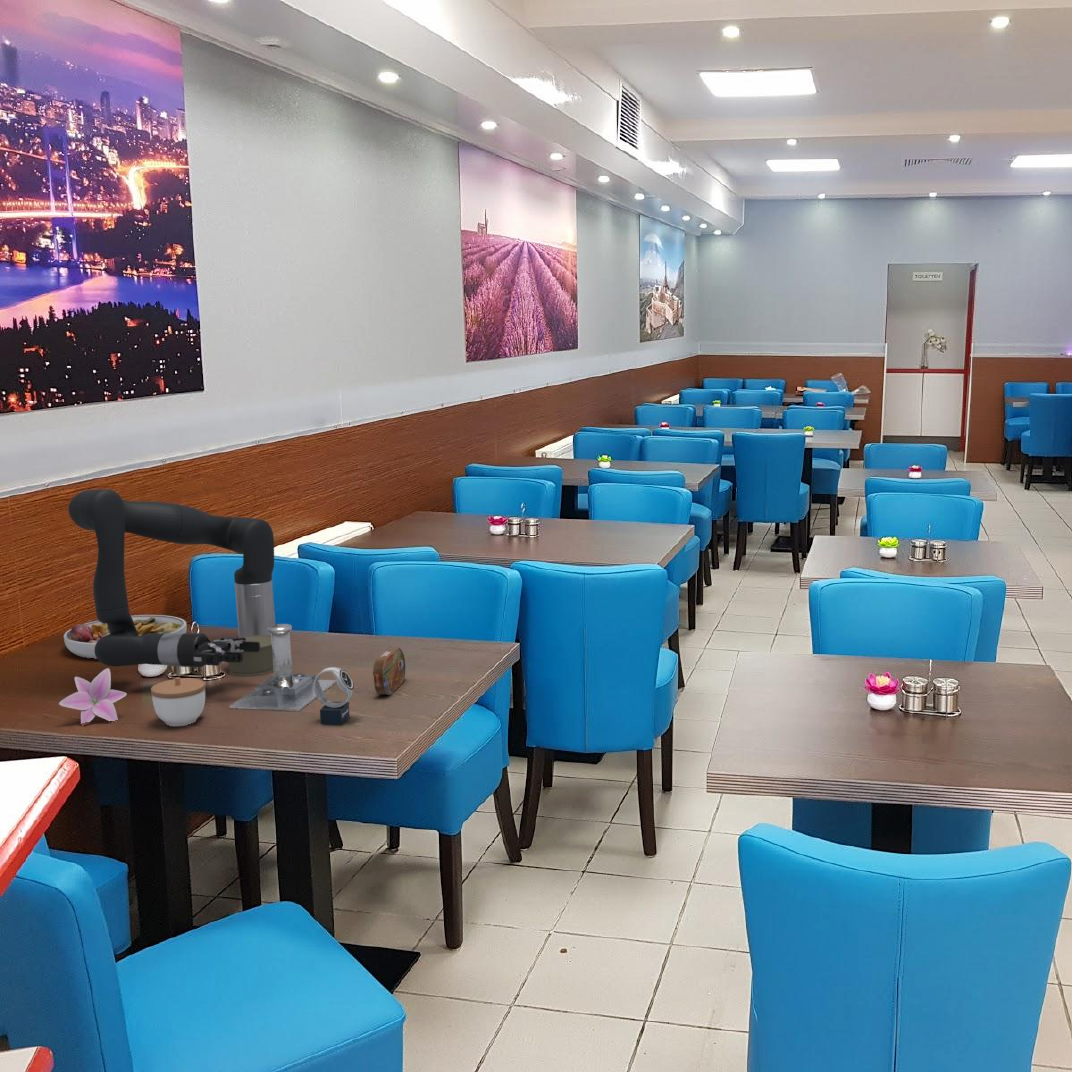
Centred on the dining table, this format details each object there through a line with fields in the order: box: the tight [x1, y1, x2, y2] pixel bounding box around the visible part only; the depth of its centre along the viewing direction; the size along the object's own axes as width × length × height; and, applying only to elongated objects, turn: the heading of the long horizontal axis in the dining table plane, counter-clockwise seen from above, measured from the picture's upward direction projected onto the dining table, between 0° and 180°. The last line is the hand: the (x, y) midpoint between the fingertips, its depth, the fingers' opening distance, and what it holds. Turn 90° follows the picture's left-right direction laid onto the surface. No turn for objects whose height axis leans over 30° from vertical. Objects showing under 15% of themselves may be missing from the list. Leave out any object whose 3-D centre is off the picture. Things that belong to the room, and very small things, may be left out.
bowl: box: [63, 614, 188, 660], centre depth 303 cm, size 30×30×8 cm
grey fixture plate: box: [228, 672, 337, 712], centre depth 258 cm, size 21×16×3 cm
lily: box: [58, 667, 128, 725], centre depth 245 cm, size 12×12×10 cm
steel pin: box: [268, 623, 293, 687], centre depth 257 cm, size 5×5×15 cm
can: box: [227, 635, 274, 677], centre depth 278 cm, size 12×12×7 cm
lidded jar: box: [150, 676, 206, 727], centre depth 241 cm, size 11×11×9 cm
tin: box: [372, 647, 406, 696], centre depth 260 cm, size 15×3×8 cm, turn 168°
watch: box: [313, 666, 355, 726], centre depth 239 cm, size 6×8×11 cm
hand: (251, 652), depth 258 cm, fingers open, 8 cm apart
